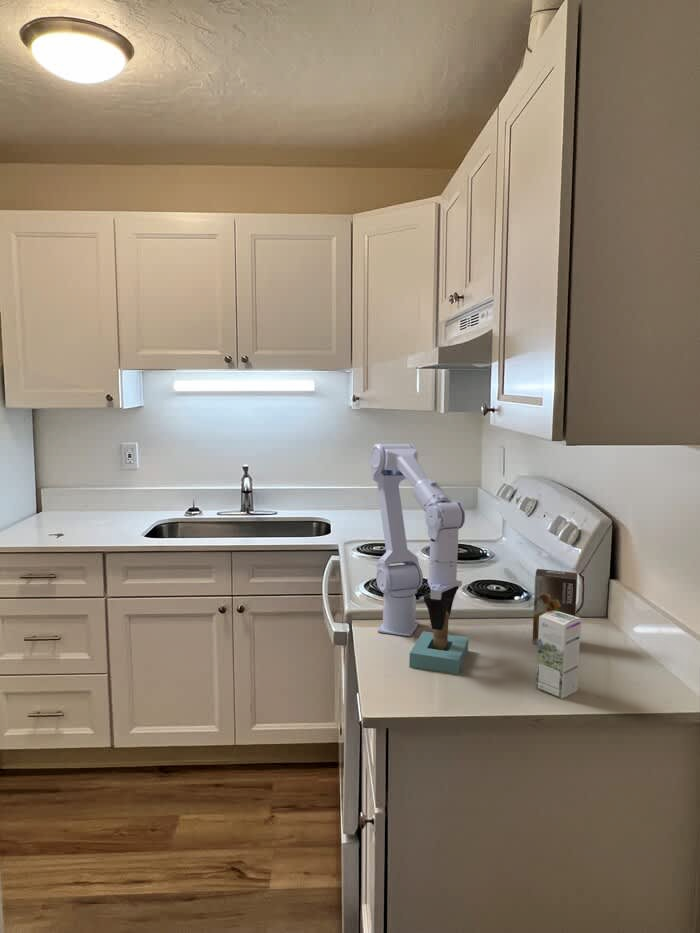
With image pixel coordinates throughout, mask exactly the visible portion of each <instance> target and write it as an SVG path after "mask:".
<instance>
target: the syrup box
mask: <svg viewBox="0 0 700 933" xmlns="http://www.w3.org/2000/svg"><path fill="white" fill-rule="evenodd" d="M581 625H582V619H581V617H579V616H576V617H575V616H572V615H569V614H565V613H562V612H559V611H550V612H547V613H545V614H543V615H541V616H539V632H538V645H537V657H536V678H535V689H536V690H539V691H542V692H544V693H547V694H548V695H552V696H554V697H556V698H559V699H561V700H562V699H565V698H566V697H569V696H570V695H572V694H574V693H576V692H577V691H578V681H579V680H578V678H579V676H578V675H579V662H580V661H579V660H580V658H579V657H580V644H581V642H580V641H581V628H582V626H581ZM568 695H569V696H568Z"/></svg>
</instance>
